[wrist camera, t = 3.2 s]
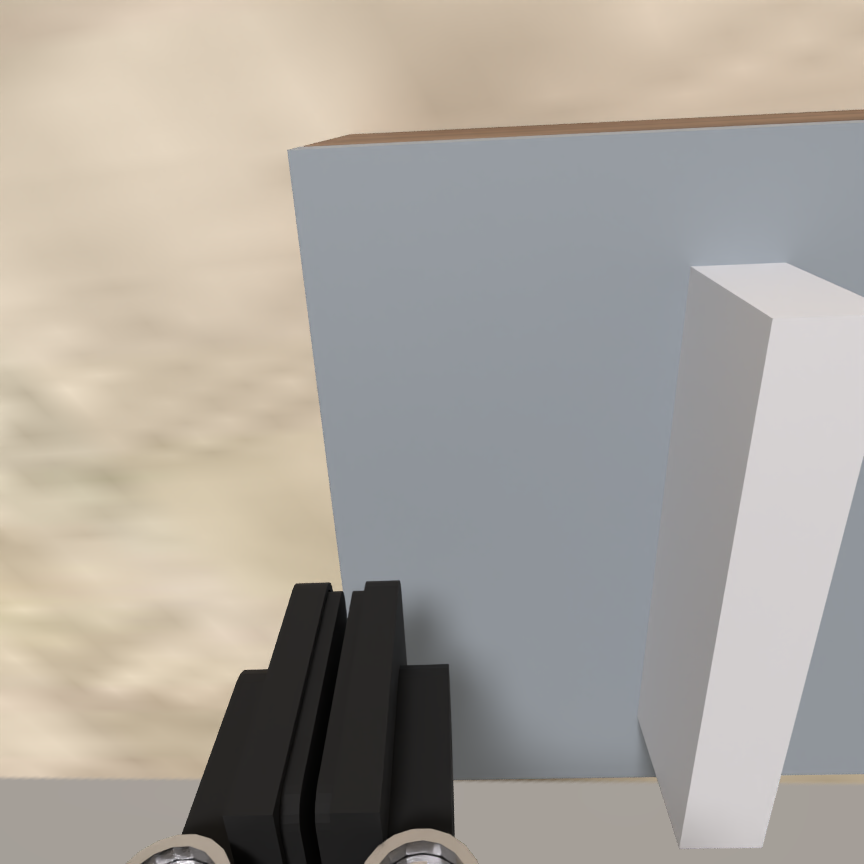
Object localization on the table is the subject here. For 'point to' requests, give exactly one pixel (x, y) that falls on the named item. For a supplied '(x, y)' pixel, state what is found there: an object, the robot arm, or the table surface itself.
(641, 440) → the cover
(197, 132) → the table surface
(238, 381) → the table surface
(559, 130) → the box
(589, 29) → the table surface
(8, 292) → the table surface
